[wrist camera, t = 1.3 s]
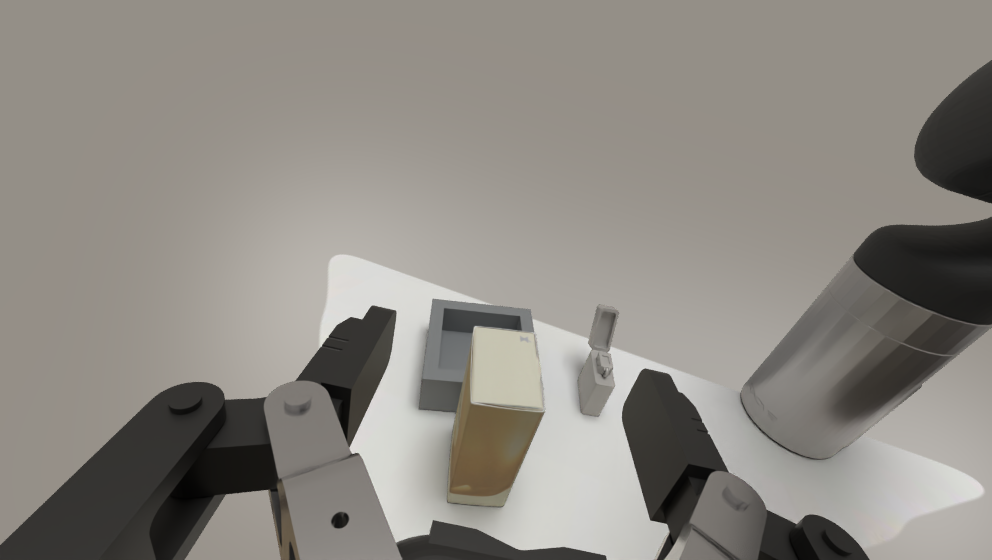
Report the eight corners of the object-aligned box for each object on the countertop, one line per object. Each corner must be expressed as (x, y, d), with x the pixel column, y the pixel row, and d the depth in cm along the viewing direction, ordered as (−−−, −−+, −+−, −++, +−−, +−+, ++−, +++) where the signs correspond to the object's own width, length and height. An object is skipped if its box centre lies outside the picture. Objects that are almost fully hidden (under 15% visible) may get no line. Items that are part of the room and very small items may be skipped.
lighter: (599, 417, 37) (631, 358, 33) (581, 413, 37) (610, 354, 33) (591, 359, 43) (617, 302, 38) (575, 356, 43) (599, 299, 38)
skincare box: (452, 427, 34) (472, 320, 27) (503, 432, 34) (536, 328, 27) (445, 508, 29) (468, 402, 21) (505, 512, 29) (547, 410, 22)
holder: (522, 337, 44) (530, 309, 42) (532, 417, 36) (543, 388, 34) (429, 327, 43) (432, 298, 40) (418, 409, 35) (421, 378, 32)
